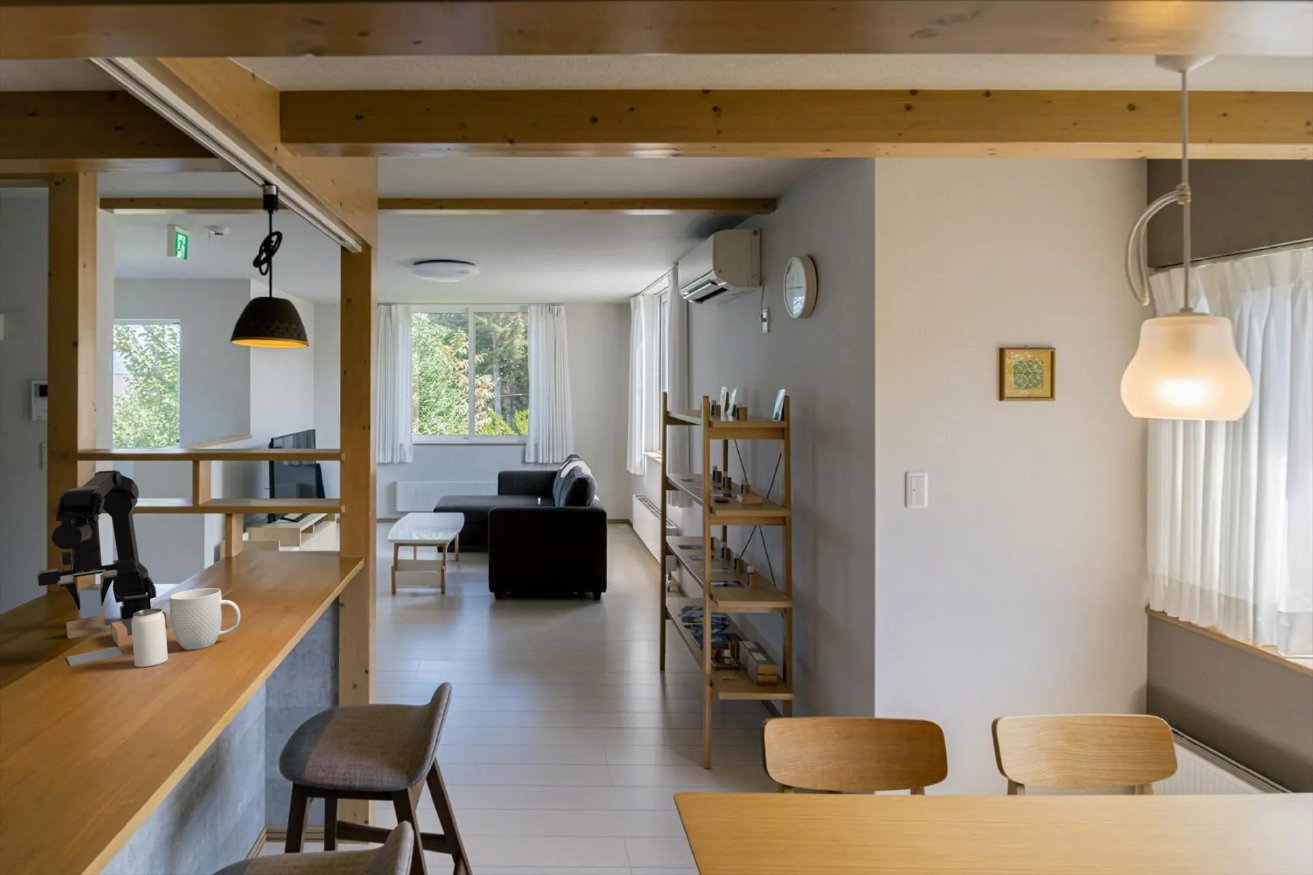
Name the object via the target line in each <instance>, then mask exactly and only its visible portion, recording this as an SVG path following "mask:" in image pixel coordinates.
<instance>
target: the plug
mask: <svg viewBox="0 0 1313 875" xmlns="http://www.w3.org/2000/svg"><path fill="white" fill-rule="evenodd" d="M77 593H78V597H79V602H80V610H78V615H79V617H80V618H81V619H80V620H83V619H88V618H94V617H99V616H103V611H102V610H103V606H101V593H100V587H92V588H85V589H77Z"/></svg>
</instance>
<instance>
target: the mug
mask: <svg viewBox="0 0 1313 875" xmlns="http://www.w3.org/2000/svg"><path fill="white" fill-rule="evenodd" d="M168 599H169V615H170V622H171V628H172V630H173V631H172V632H173V633H174V636H175V638H176V640H177V643H178V644H179V645H180V647H182V649H184V650H186V651H194V650H200V649H201V650H202V649H206V648H208V647H211V646H213V645H215V643H216V642H217V640H218V639H219V636H223V635H226V634H229V633H231V632H233V631H234V630H236V629H237V628H238V626H239V624H240V621H241V612H240V611H241V610H240V608H239V606H238V605H237V604H236V602H234V601H232V600H228V599H222V590H221V589H220V588H218V587H217V588H216V587H206V588H205V587H204V588H196V589H188V590H183V591H180V592H176V593H173V594H171V595H170V596H169V598H168ZM224 605H227V606H228V605H229V606H230V607H231V608H232V609H233V611H234V613H235V622H234V623H233V625H232V626H231V627H229V628H228V629H227V628H226V629H224V630H221V628H222V624H223V606H224Z"/></svg>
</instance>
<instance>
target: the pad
mask: <svg viewBox="0 0 1313 875" xmlns="http://www.w3.org/2000/svg"><path fill="white" fill-rule="evenodd" d="M121 656H123V653H122V652H121V650H120V649H119V646H114V647H109V648H105V649H99V650H94V651H89V652H84V653H79V654H74V655H70V656H66V660H67V662H68V664H69V666H70V667H73V666H78V665H82V664H88V663H92V662H96V661H97V662H98V661H102V660H106V659H112V658H116V657H121Z"/></svg>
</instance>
